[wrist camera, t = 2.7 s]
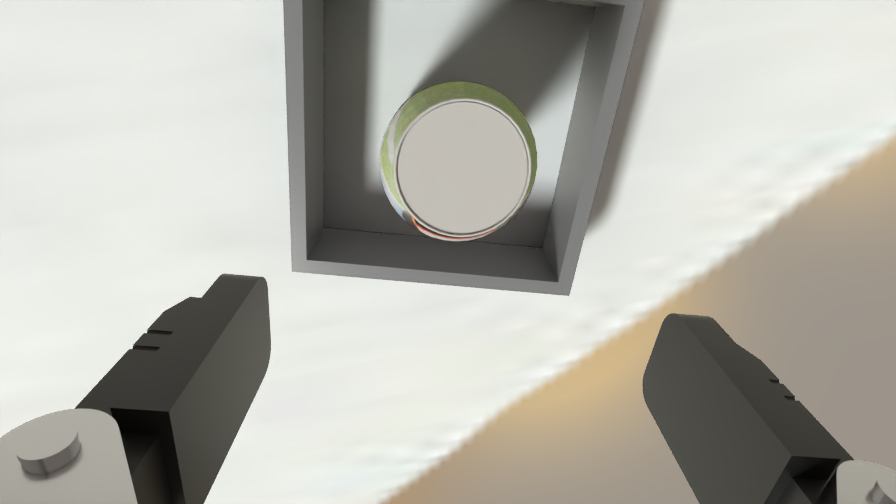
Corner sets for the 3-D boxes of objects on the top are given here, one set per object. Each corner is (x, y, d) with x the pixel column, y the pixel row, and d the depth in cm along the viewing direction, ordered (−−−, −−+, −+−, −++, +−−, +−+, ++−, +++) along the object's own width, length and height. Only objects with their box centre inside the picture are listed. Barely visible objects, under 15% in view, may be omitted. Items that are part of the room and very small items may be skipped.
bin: (307, -49, 24) (281, -62, 20) (614, -9, 25) (648, -14, 21) (311, 237, 31) (291, 271, 27) (552, 260, 32) (569, 295, 28)
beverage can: (382, 176, 29) (349, 270, 18) (404, 46, 26) (382, 68, 15) (483, 197, 30) (510, 300, 19) (517, 73, 27) (571, 113, 16)
